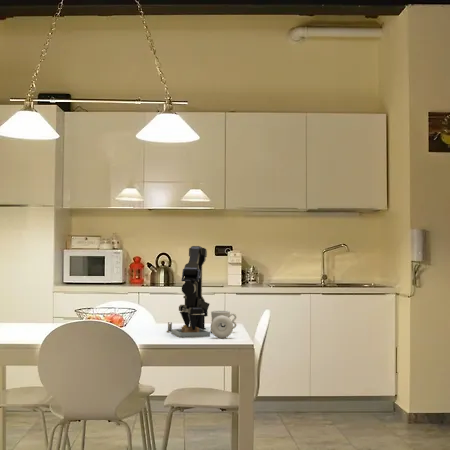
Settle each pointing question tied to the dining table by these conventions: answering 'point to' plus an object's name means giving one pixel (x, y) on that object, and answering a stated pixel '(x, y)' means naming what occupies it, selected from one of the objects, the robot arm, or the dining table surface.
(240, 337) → the dining table surface
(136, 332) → the dining table surface
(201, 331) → the tray
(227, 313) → the mug
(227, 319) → the grey wheel
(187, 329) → the ring
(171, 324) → the metal knob
